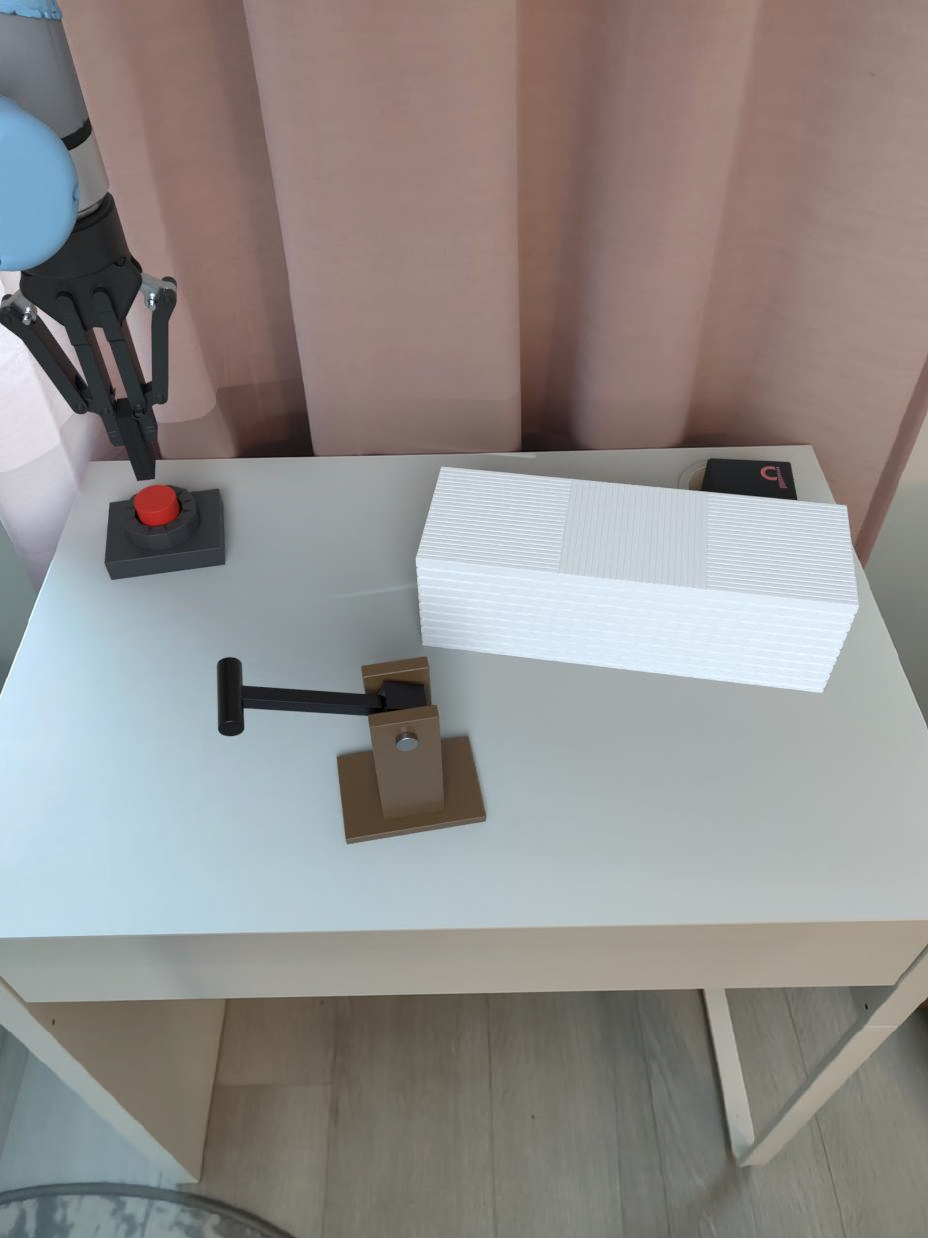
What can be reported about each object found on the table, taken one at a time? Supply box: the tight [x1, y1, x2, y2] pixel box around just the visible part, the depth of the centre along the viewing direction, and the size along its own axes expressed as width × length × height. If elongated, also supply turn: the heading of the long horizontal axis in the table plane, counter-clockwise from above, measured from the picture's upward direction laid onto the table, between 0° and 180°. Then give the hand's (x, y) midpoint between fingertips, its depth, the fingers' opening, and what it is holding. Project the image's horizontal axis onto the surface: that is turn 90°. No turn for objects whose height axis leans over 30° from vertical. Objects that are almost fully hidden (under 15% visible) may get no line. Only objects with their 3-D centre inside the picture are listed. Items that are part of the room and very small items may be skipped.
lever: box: [216, 656, 428, 737], centre depth 63 cm, size 13×5×2 cm, turn 100°
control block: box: [104, 484, 226, 581], centre depth 90 cm, size 10×8×4 cm
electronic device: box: [700, 457, 799, 501], centre depth 88 cm, size 7×11×5 cm
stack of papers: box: [415, 465, 860, 694], centre depth 80 cm, size 32×11×11 cm, turn 81°
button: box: [134, 484, 180, 526], centre depth 88 cm, size 4×4×2 cm
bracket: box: [336, 655, 487, 845], centre depth 69 cm, size 10×7×13 cm
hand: (146, 469), depth 85 cm, fingers closed
